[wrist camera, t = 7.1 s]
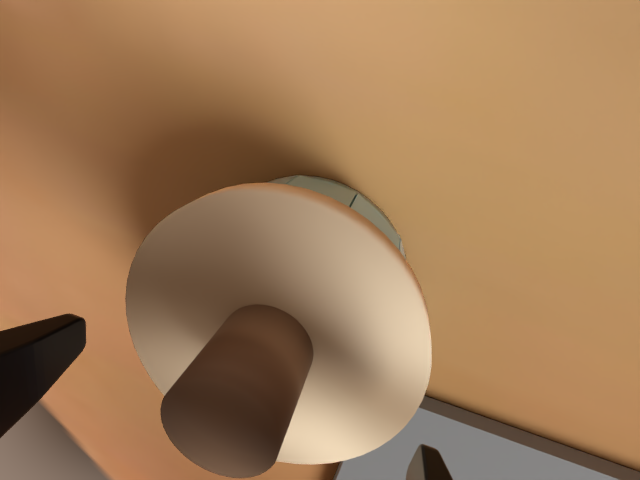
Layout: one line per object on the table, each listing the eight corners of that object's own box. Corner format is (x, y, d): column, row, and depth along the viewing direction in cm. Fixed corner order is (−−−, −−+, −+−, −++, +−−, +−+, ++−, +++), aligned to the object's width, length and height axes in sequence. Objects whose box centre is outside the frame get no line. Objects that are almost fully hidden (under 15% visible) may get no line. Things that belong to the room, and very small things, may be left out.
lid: (378, 473, 13) (365, 619, 10) (142, 385, 14) (49, 486, 11) (481, 239, 9) (524, 330, 6) (152, 144, 11) (16, 171, 7)
